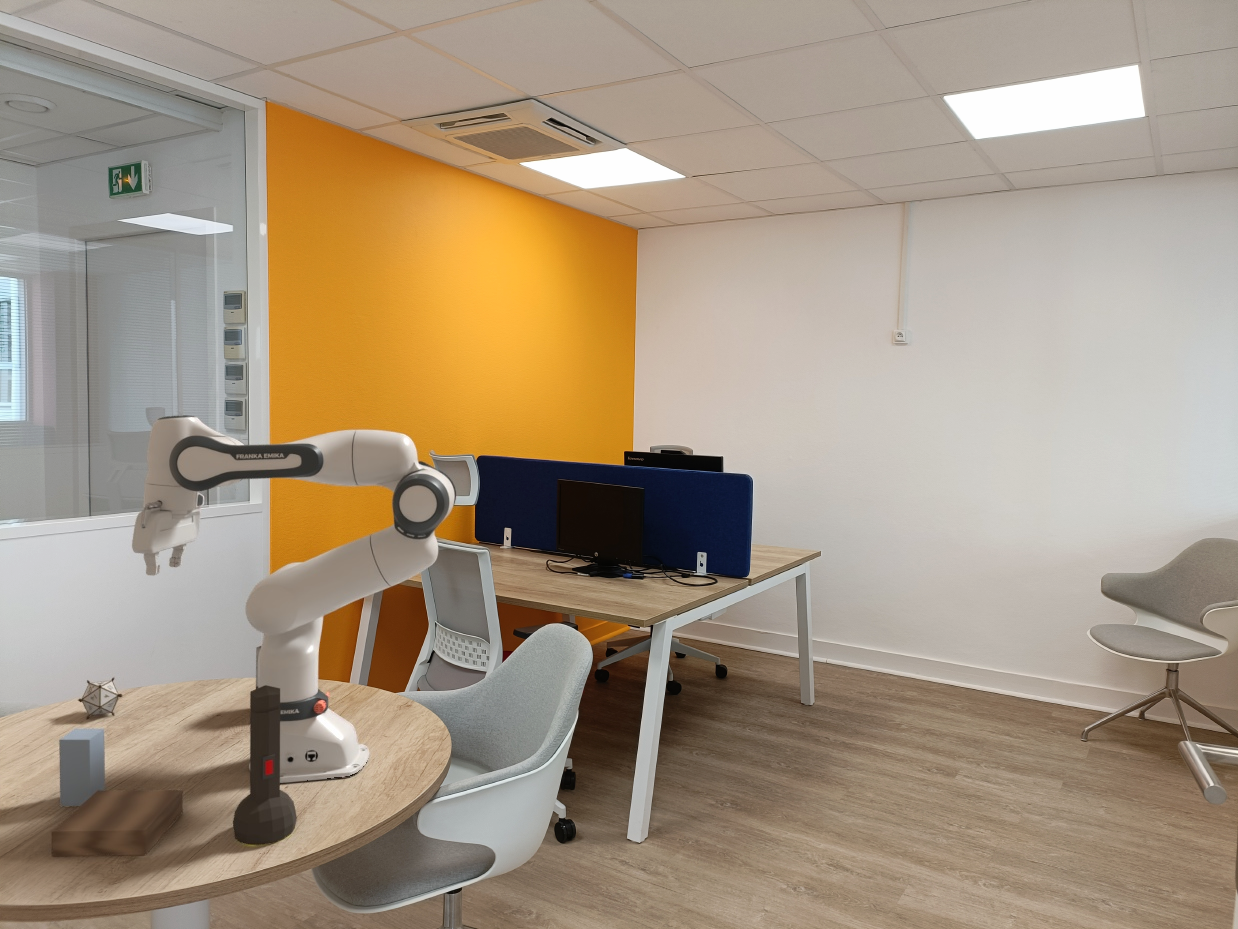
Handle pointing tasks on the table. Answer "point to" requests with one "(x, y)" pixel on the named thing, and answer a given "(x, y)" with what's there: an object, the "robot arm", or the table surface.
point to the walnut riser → (117, 823)
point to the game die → (100, 698)
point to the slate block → (81, 765)
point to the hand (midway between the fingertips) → (164, 570)
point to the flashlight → (264, 777)
